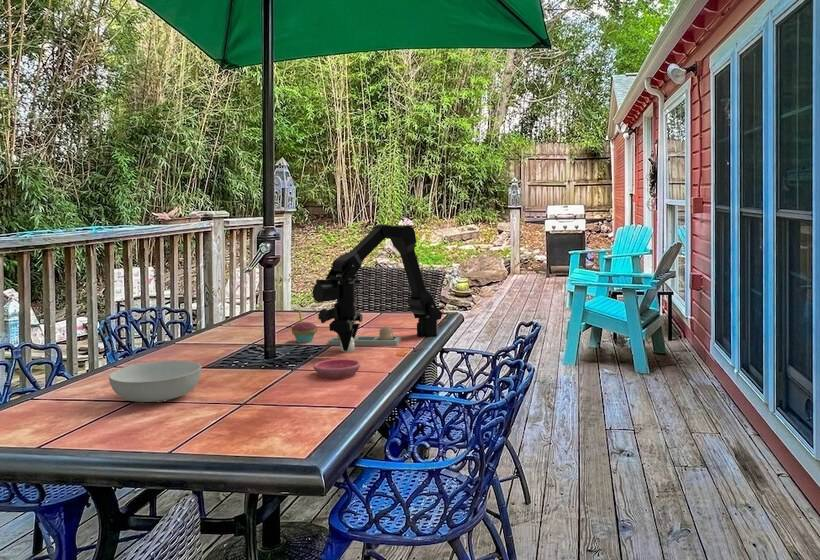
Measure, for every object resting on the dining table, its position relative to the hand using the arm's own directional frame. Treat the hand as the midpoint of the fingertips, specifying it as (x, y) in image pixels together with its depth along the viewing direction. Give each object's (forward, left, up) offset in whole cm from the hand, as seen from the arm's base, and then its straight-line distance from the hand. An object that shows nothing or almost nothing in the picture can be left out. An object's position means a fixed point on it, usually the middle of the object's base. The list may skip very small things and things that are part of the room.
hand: (347, 348), depth 211 cm
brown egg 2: (-10, -12, 0) cm, 16 cm away
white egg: (0, 0, -1) cm, 1 cm away
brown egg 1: (+4, -12, 0) cm, 13 cm away
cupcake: (+18, -14, -1) cm, 23 cm away
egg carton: (-3, -12, -1) cm, 12 cm away
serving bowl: (+34, +53, -1) cm, 63 cm away
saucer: (-4, +28, -2) cm, 28 cm away
